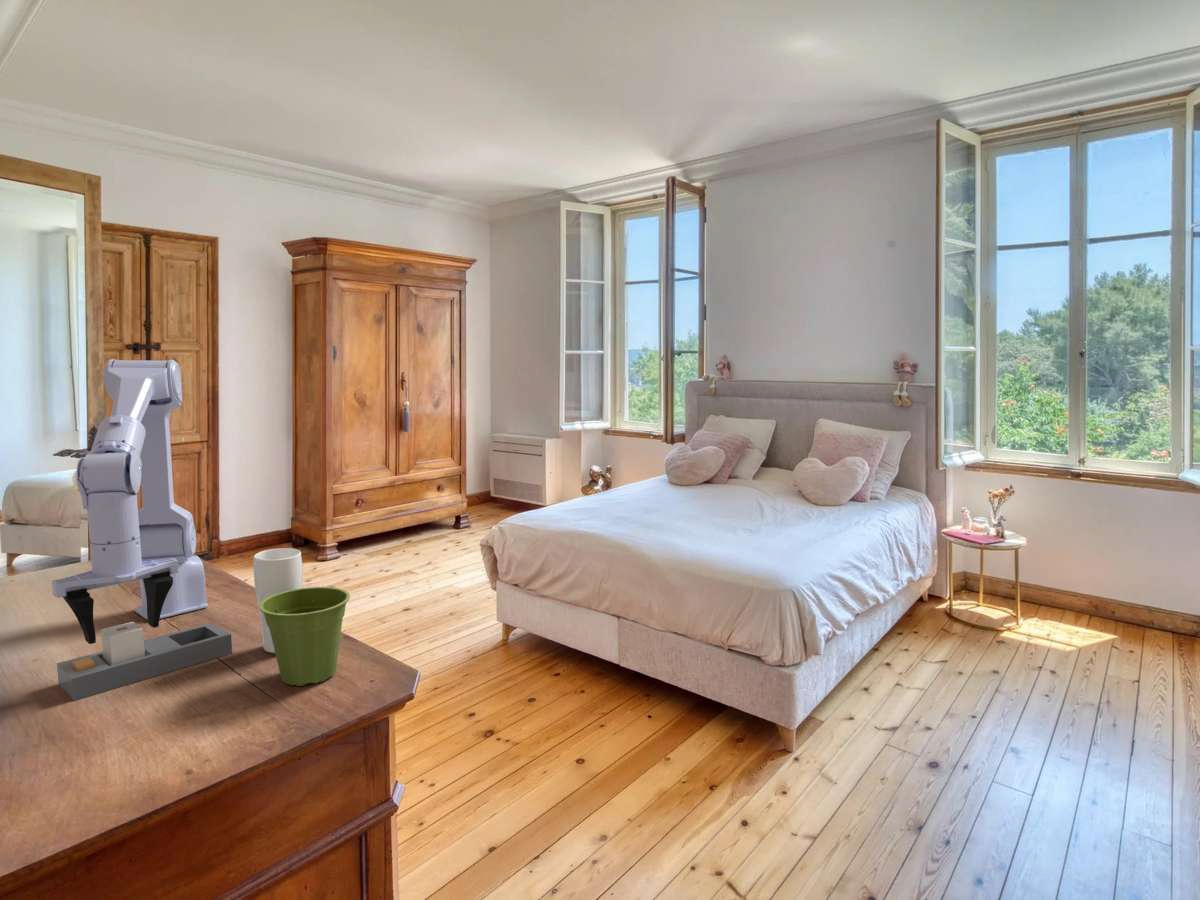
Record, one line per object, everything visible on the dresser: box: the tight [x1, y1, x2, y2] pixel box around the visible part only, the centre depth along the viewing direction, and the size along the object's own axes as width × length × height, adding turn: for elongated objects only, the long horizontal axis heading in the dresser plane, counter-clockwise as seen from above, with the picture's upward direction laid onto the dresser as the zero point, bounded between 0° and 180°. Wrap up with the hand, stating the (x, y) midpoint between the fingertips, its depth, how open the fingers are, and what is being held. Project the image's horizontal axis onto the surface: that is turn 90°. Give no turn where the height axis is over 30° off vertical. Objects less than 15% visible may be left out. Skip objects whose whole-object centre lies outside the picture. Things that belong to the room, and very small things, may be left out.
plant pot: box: [259, 586, 351, 687], centre depth 101 cm, size 12×12×11 cm
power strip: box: [56, 622, 233, 701], centre depth 103 cm, size 20×7×4 cm, turn 140°
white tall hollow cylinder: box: [253, 547, 304, 654], centre depth 110 cm, size 7×7×15 cm
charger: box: [100, 621, 145, 666], centre depth 100 cm, size 4×4×6 cm
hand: (122, 633), depth 100 cm, fingers open, 7 cm apart
